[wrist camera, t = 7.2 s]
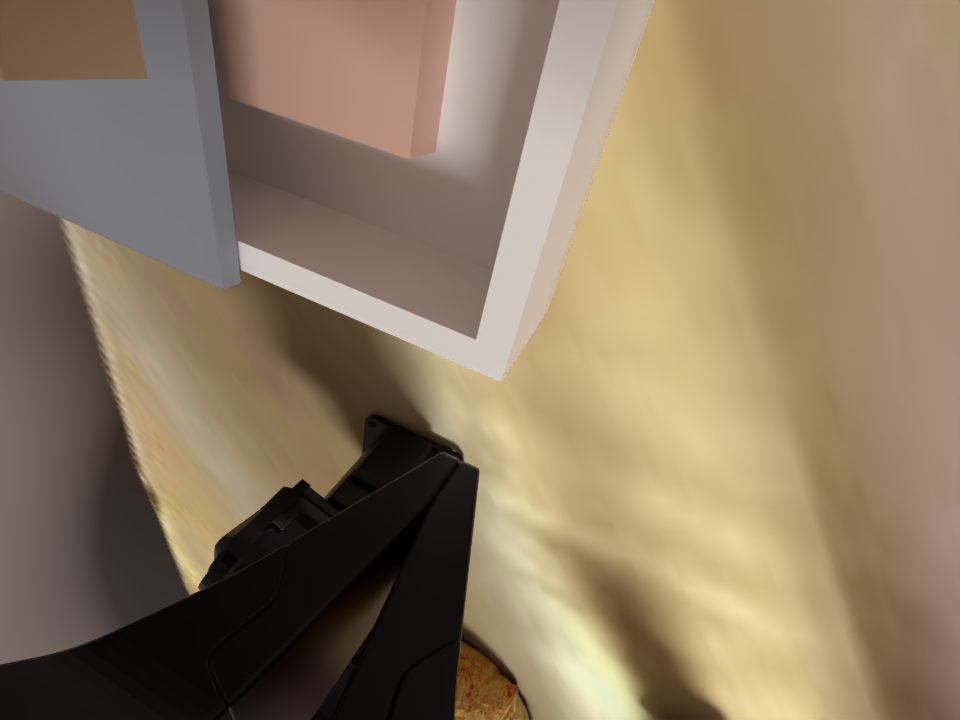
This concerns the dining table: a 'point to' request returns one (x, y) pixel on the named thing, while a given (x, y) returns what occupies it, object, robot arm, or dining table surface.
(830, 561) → the dining table surface
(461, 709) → the croissant
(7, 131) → the lid
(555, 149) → the lidded box
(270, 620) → the robot arm
